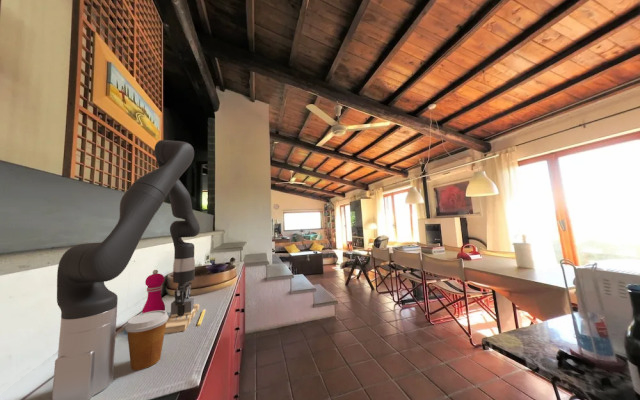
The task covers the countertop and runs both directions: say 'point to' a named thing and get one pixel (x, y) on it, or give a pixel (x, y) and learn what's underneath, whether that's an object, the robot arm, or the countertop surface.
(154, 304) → the pepper mill
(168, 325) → the board
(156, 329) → the disposable coffee cup
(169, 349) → the countertop surface
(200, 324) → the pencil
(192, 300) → the sanding block
